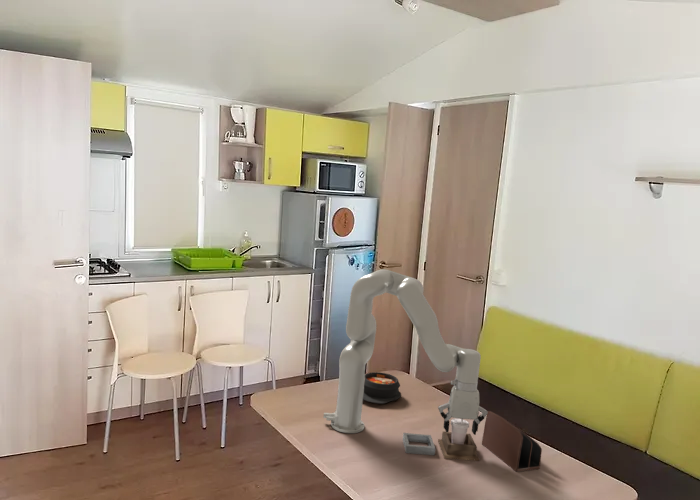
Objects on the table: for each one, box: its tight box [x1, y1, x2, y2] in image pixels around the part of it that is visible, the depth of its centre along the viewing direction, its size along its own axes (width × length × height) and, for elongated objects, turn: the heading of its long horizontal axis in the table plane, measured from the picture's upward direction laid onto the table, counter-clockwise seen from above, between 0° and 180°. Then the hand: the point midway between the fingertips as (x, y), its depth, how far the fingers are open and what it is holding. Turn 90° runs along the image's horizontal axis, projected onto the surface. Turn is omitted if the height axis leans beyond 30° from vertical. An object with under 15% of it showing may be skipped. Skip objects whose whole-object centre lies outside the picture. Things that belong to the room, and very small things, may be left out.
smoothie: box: [450, 418, 470, 444], centre depth 189 cm, size 6×6×14 cm
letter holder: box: [481, 410, 543, 473], centre depth 189 cm, size 10×20×14 cm, turn 21°
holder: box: [402, 432, 436, 456], centre depth 190 cm, size 10×10×2 cm
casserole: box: [363, 371, 402, 405], centre depth 233 cm, size 25×19×8 cm
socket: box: [437, 431, 480, 462], centre depth 190 cm, size 12×12×4 cm
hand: (460, 431), depth 189 cm, fingers open, 9 cm apart
